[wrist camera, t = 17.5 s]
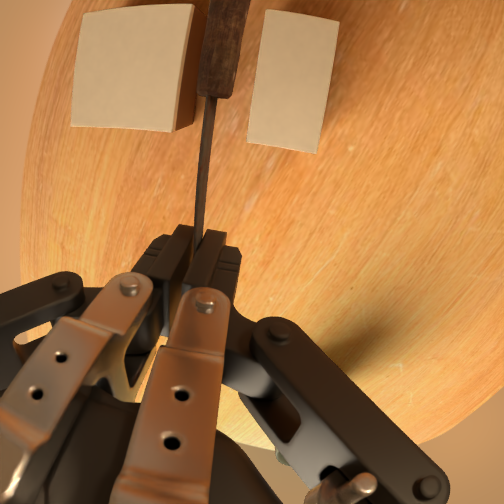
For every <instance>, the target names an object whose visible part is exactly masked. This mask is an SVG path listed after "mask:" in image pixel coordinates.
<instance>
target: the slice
mask: <svg viewBox="0 0 504 504" xmlns="http://www.w3.org/2000/svg"><path fill="white" fill-rule="evenodd" d="M339 24H340V23H339V22H338V21H334V20H329V19H325V18H320V17H315V16H310V15H305V14H299V13H293V12H287V11H280V10H272V9H266V12H265V18H264V24H263V30H262V36H261V43H260V49H259V56H258V62H257V69H256V75H255V82H254V89H253V96H252V103H251V109H250V116H249V124H248V131H247V138H246V142H248V143H255V144H262V145H268V146H274V147H280V148H286V149H292V150H297V151H303V152H308V153H313V154H317V150H318V145H319V140H320V135H321V130H322V125H323V119H324V114H325V109H326V103H327V97H328V92H329V86H330V80H331V74H332V68H333V62H334V56H335V50H336V44H337V37H338V30H339Z"/></svg>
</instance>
